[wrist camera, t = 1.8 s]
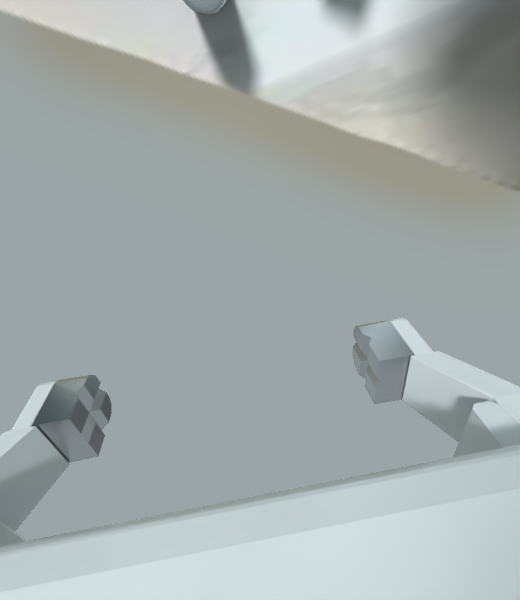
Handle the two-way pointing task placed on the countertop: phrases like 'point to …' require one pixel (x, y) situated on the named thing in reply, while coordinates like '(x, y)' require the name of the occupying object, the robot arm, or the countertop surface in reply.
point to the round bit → (205, 5)
